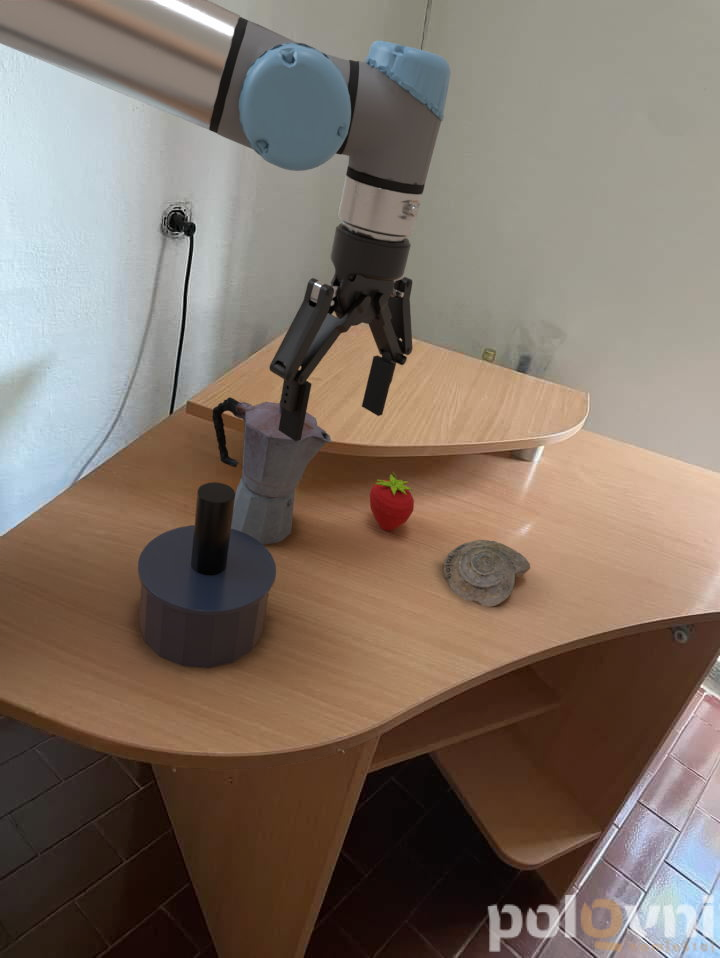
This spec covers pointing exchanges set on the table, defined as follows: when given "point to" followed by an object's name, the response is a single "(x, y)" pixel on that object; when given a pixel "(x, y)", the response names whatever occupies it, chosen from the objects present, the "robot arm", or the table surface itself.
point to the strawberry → (391, 503)
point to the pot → (199, 633)
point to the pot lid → (207, 561)
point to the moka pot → (267, 467)
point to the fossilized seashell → (484, 571)
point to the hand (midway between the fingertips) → (333, 422)
